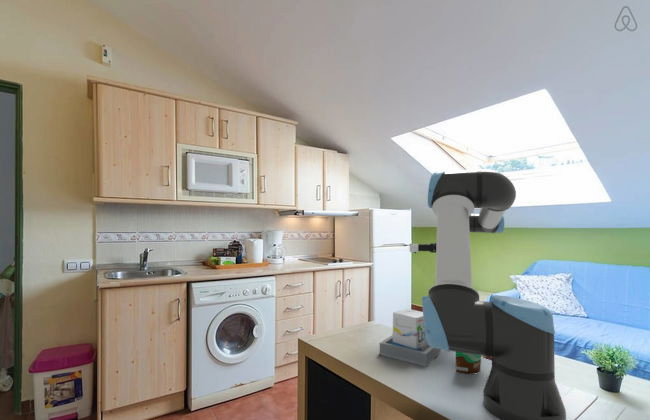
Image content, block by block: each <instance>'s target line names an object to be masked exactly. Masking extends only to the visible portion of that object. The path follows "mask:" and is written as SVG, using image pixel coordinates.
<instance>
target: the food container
mask: <svg viewBox="0 0 650 420" xmlns="http://www.w3.org/2000/svg"><path fill="white" fill-rule="evenodd" d="M454 353H455V372H456V373H457V372H458V374H462V373H463V374H464V375H475V373H477V374H478V372H479V373H480V372H481V364H482V355H476V354H469V353H462V352H455V351H454Z"/></svg>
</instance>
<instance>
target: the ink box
mask: <svg viewBox="0 0 650 420" xmlns="http://www.w3.org/2000/svg"><path fill="white" fill-rule="evenodd" d="M392 335H393V340H392V345H397V346H401V347H405V348H409V349H414V350H418V351H422V352H424V351H425V350H426V349H427V348H429V347H430V346H429V345H428V343H427V341H426V336H425V328H424V318H423V311H420V310H416V309H408V308H405V309H402V310H398V311H395V312H393V311H392Z"/></svg>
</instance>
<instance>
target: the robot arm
mask: <svg viewBox="0 0 650 420" xmlns="http://www.w3.org/2000/svg"><path fill="white" fill-rule="evenodd" d="M427 189H428V192H427V205H428V208H430V209H432V212H433V214H434V215H435V216H437V219H436V220H437V221H436V242H434V243H433V242H431V243H409V253H414V254H417V253H418V252H429V253H432V254H433V253H435V275H434V276H435V279H434V280H435V281H434V283H435V284H433V285H432V286H431V287H430V288H429V289H428V295H424V296H422V297H421V300H422V301H421V303H422V312H423V318H424V328H425V336H426V341H427V343H428V345H429V346H431V347H433V348H437V349H441V351H442V350H443V351H446V352H454V353H455V352H462V353H469V354H476V355H481V356H482V357H483V356H485V357H491V369H490V371H489V374H488V377H487V380H486V383H485V385H484V388H483V391H482V393H483V394H482V396H483V398H482V400H483V401H482V402H483V405H484V406H485V408H486V409H487V410H488V411H489V412H490V413H491V414H493V415H494V416H496V417H497V418H499V419H501V420H567V411H566V408H565V405H564V402H563V400H562V397H561V394H560V391H559V388H558V385H557V382H556V378H555V377H556V375H555V370H556V369H555V364H556V363H555V334H556V331H555V324H554V317H553V314H552V311H550V309H549V308H548V307H546V306H544V305H541V304H539V303H536V302H533V301H530V300H526V299H522V298H517V297H513V296H507V295H499V294H498V295H496V294H495V295H492V296H491V298H490V299H489V300H490V301H480V294H479V292H478V290H477V289H476V288H474V287H473V284H472V283H473V282H472V280H473V279H472V261H471V259H472V258H471V256H472V255H471V237H470V236H471V235H470V234H471V233H482V234H483V233H485V234H489V233H492V234H495V233H497V234H499V233H503V232H504V229H505V217H504V214H505V213H506V210H509V209H510V208H511V207H512V206H513V204H514V203H515V201H516V197H517V191H516V187H515V185H514V183H513V182H512V181H511V180H510V179H509V178H508V177H507V176H506V175H504V174H503V173H500V172H498V171H496V170H493V169H485V168H484V169H483V168H482V169H464V170H463V169H462V170H461V169H460V170H458V169H457V170H448V169H447V170H442V171H435V172H434V173H432V174H431V177H430V179H429V183H428V187H427ZM475 209H479V213H474V211H475Z"/></svg>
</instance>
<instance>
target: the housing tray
mask: <svg viewBox="0 0 650 420" xmlns="http://www.w3.org/2000/svg"><path fill="white" fill-rule="evenodd" d="M392 340H393V334H392V335H391V336H388V337H387V338H385V339H384V340H382V341H381V342H379V352H378V353H379V356H382V357H386V358H391V359H395V360H399V361H403V362H405V363H410V364H415V365H417V364H419V366H421V365H422V366H421V367H429V365H430V364H431V363H432V362H433V361H434V360H435V359H436V358H437V357H436V356H439V355H440V353H441V352H442V349H437V348H433V347H431V346H430V347H429V348H427V349H426V350H425V351H424V352H422V351H418V350H414V349H409V348H405V347H401V346H397V345H392ZM435 357H436V358H435ZM434 358H435V359H434ZM433 359H434V360H433ZM432 360H433V361H432ZM431 361H432V362H431ZM430 362H431V363H430ZM429 363H430V364H429ZM428 364H429V365H428Z"/></svg>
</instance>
